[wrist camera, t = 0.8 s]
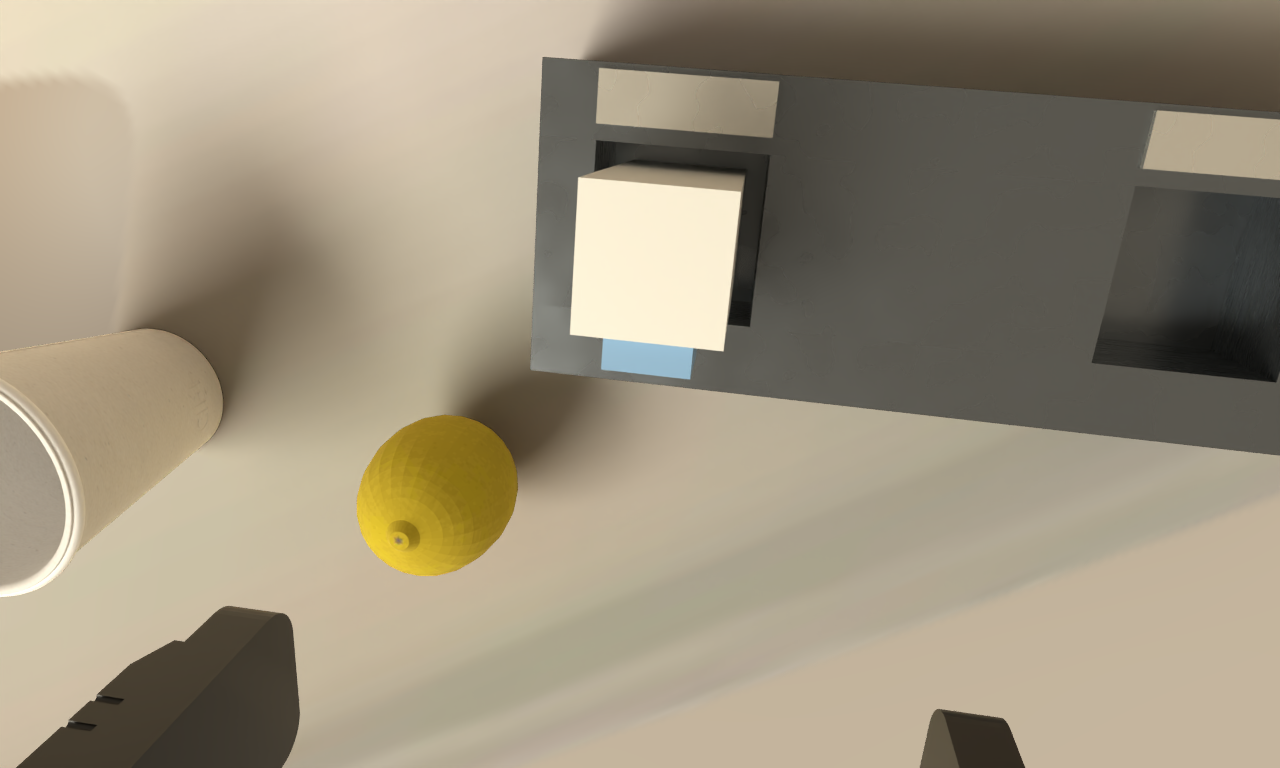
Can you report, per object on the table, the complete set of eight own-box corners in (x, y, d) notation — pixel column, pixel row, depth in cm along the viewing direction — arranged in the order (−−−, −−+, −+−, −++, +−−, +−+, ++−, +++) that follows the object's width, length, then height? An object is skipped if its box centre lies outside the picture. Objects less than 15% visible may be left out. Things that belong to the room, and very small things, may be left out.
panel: (575, 66, 31) (541, 56, 26) (1318, 123, 28) (1436, 123, 23) (562, 335, 34) (528, 371, 29) (1231, 408, 31) (1319, 462, 26)
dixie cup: (95, 478, 39) (-120, 594, 29) (53, 297, 36) (-196, 359, 27) (267, 483, 38) (101, 605, 28) (235, 296, 35) (42, 361, 26)
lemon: (560, 430, 35) (505, 515, 27) (505, 534, 37) (440, 642, 29) (441, 366, 35) (352, 434, 27) (392, 474, 37) (296, 566, 29)
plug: (634, 159, 30) (578, 177, 21) (746, 169, 30) (741, 191, 21) (624, 297, 32) (567, 371, 22) (731, 307, 32) (719, 388, 22)
